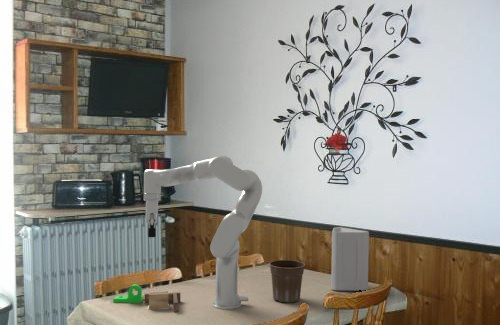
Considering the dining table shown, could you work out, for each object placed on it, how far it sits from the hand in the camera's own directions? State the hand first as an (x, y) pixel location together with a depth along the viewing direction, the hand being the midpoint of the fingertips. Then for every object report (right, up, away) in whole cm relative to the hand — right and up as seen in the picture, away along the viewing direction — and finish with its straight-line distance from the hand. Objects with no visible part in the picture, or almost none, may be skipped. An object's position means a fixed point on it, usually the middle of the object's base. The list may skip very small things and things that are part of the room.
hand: (151, 235), depth 243 cm
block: (+5, -29, -12) cm, 32 cm away
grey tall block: (+90, -29, +25) cm, 97 cm away
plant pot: (+60, -29, +3) cm, 67 cm away
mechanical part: (-10, -29, -4) cm, 31 cm away
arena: (+7, -29, -12) cm, 32 cm away
